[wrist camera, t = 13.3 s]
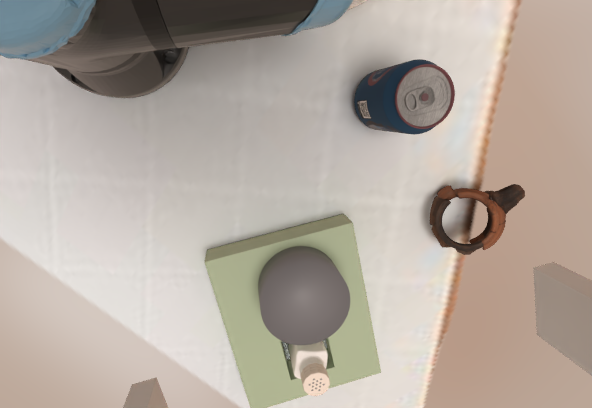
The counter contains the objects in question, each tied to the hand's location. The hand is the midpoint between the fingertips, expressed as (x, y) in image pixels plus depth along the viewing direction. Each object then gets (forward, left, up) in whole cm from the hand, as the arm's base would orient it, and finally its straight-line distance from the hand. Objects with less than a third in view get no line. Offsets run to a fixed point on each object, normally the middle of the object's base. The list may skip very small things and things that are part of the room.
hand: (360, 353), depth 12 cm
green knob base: (+18, -1, -35) cm, 39 cm away
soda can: (-6, +15, -35) cm, 38 cm away
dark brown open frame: (+11, +25, -35) cm, 44 cm away
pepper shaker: (+23, -1, -35) cm, 42 cm away
